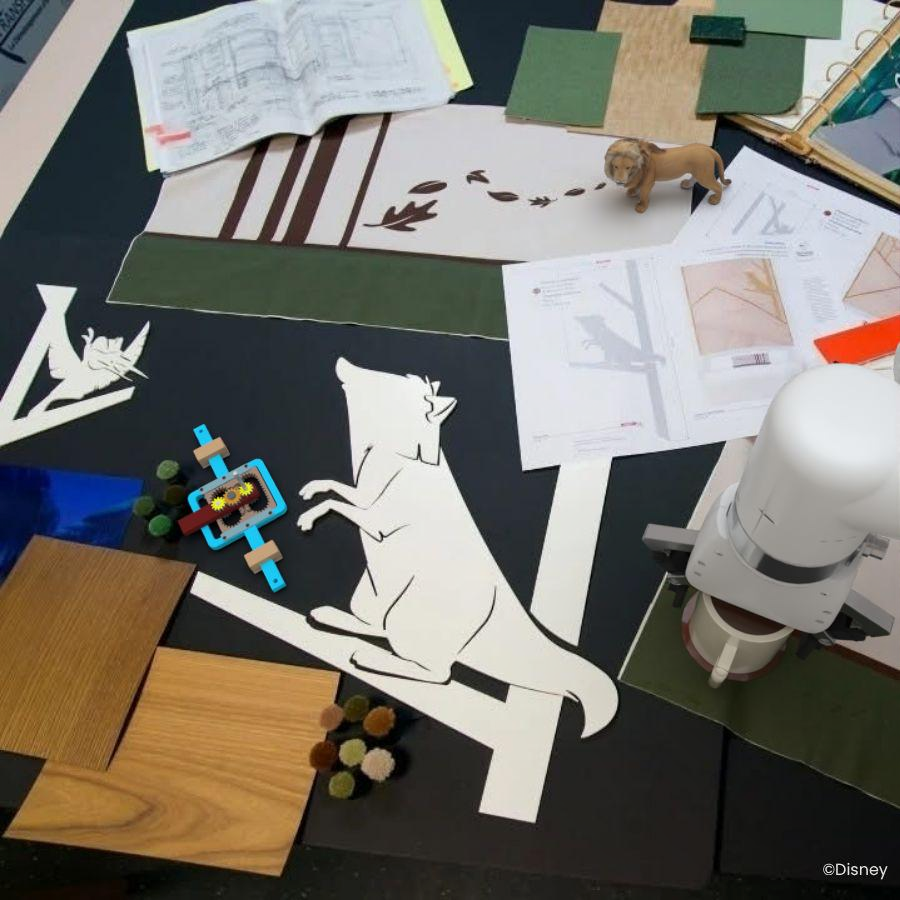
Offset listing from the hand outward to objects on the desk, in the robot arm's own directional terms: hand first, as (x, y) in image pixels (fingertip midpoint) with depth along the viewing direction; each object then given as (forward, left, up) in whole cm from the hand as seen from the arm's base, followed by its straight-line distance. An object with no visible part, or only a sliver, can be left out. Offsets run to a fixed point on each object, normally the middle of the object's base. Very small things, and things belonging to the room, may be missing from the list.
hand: (742, 615), depth 67 cm
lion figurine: (+9, -49, -5) cm, 50 cm away
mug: (0, +1, -3) cm, 4 cm away
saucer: (0, 0, -4) cm, 4 cm away
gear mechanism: (+46, -5, -5) cm, 47 cm away
